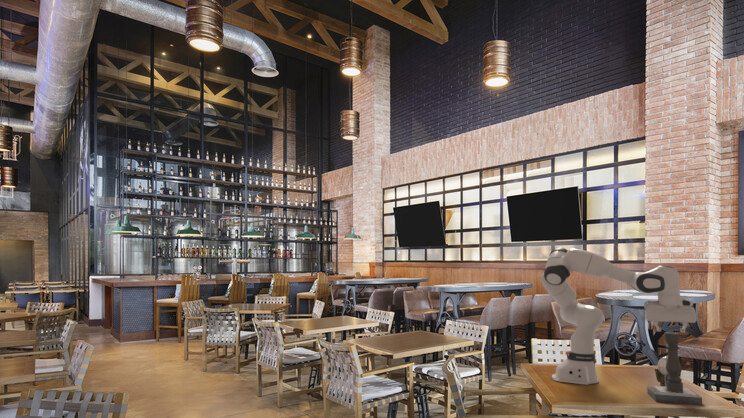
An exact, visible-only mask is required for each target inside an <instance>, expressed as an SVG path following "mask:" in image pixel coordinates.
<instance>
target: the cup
mask: <svg viewBox="0 0 744 418" xmlns="http://www.w3.org/2000/svg"><path fill="white" fill-rule="evenodd" d="M654 372H655V377H656V381H657V382H658V383H660V384H659V386H665V375H663V374H662V373H661V372H660V371H659V369H658V367H657V368H655V369H654Z"/></svg>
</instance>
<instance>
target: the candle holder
mask: <svg viewBox="0 0 744 418" xmlns="http://www.w3.org/2000/svg"><path fill="white" fill-rule="evenodd" d="M664 340H665V343H666V345H665V349H667V357H668V359H667V364H666V370H667V372H668V374H669V376H668V377H667V379H668V381H666V382H667V390H670V391H675V392H683V388H684V383H683V382H682V381H683V379H682V378H681V377H680V376H681V373H682V371H683V369H682V365H681V363H680V359H679V353H678V352H679V350H680V347H679V346H678V345H679V343H680V332H679V333H678V332H674V331H673V332H670V331H669V332H668V331H667V332H664Z"/></svg>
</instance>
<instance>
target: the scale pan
mask: <svg viewBox="0 0 744 418" xmlns="http://www.w3.org/2000/svg"><path fill="white" fill-rule="evenodd" d="M653 387H654V389H655V390H656V391H657V392H658V393H659V394H660V395H673V396H685V397H697V395H696V394H697V393H696V392H695V391H694V390H692V389H690V388H689V387H683V392H675V391H670V390H667V387H666V386H661V385H653ZM691 390H692V391H691ZM693 391H694V392H695V393H696V394H695V393H694V392H693Z"/></svg>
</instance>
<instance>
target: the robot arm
mask: <svg viewBox="0 0 744 418" xmlns="http://www.w3.org/2000/svg"><path fill="white" fill-rule="evenodd" d="M548 255H549V257H547V261H546V264H545V267H544V268H545V269H544V270H543V273H542V274H540V275H541V276H540V282H541V283H542V286H543V287H544V289H545V290H546V292H547V293H548V294H549V296H550V297H551V298H552V299H553V300H554V301H555V303H556V304H557V305H558V307H559V315H560V318H561V319H562V320H563V322H567V323H568V324H570V325H571V324H572V325H576V329H575V332H574V333H573V334H572V335H570V351H568V350H566V351H565V356H566V359H564V360H563V361H561V363H559V364H558V365H557V367H556V369H555V370H556V371H555V373H554V374H553V373H552V375H551V379H552V380H553V381H555V382H560V383H567V384H568V383H569V384H577V385H586V386H587V385H591V384H597V383H599V381H600V380H599V379H598V374H597V371H596V369H597V368H596V354H595V349H594V348H595V347H594V346H595V344H594V342H595V335H596V331H597V330H598V328H599V326H601V325H602V324H603V321H604V318H605V317H604V313H603V310H602V309H601V308H599V307H596V306H594V305H590V304H584V303H583V304H582V303H580V302H579V301H578V300H577V292H576V290H575V289H574V288H573V287H572V285H570V283H569V282H568V281H567V279H568V278H569V277H570V276H571V273H570V272H579V273H581V274H585V275H587V276H591V277H594V278H607V279H613V280H616V281H619V282H622V283H626V284H627V285H629V286H630V287H632V288H633V289H634V290H635V291H636V292H638V293H644V294H653V293H657V300H647V301H645V302H644V303H643V307H644V308H643V309H644V320H646V321H648V322H653V324H654V326H655V327H656V331H657V332H662V327H661V326H660V327H659V322H664V323H665V322H666V323H682V325H683V326H682V327H680V332H679V333H683V334H684V333H686V329H687V327H688V325H689V324H695V323H696V322H697V320H698V319H697V313H696V309H695V308H694V306H693V305H694V302H693V301H692V300H689V299H686V298H681V293H680V292H681V291H680V276H679V272H678V270H677V268H675V267H673V266H669V265H663V264H662V265H661V264H660V265H658V266H656V267H655V268H653V269H651V270H648V271H631V270H628V269H625V268H622V267H620V266H616V265H614V263H611V262H610V261H609V260H608V259H607V258H605V257H604V256H602V255H600V254H597V253H594V252H591V251H590V250H589V251H588V250H584V249H581V248H580V249H579V248H570V249H567V248H564V247H556V248H554V249H552V250H551V252H550V253H549V254H548ZM688 323H689V324H688Z"/></svg>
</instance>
